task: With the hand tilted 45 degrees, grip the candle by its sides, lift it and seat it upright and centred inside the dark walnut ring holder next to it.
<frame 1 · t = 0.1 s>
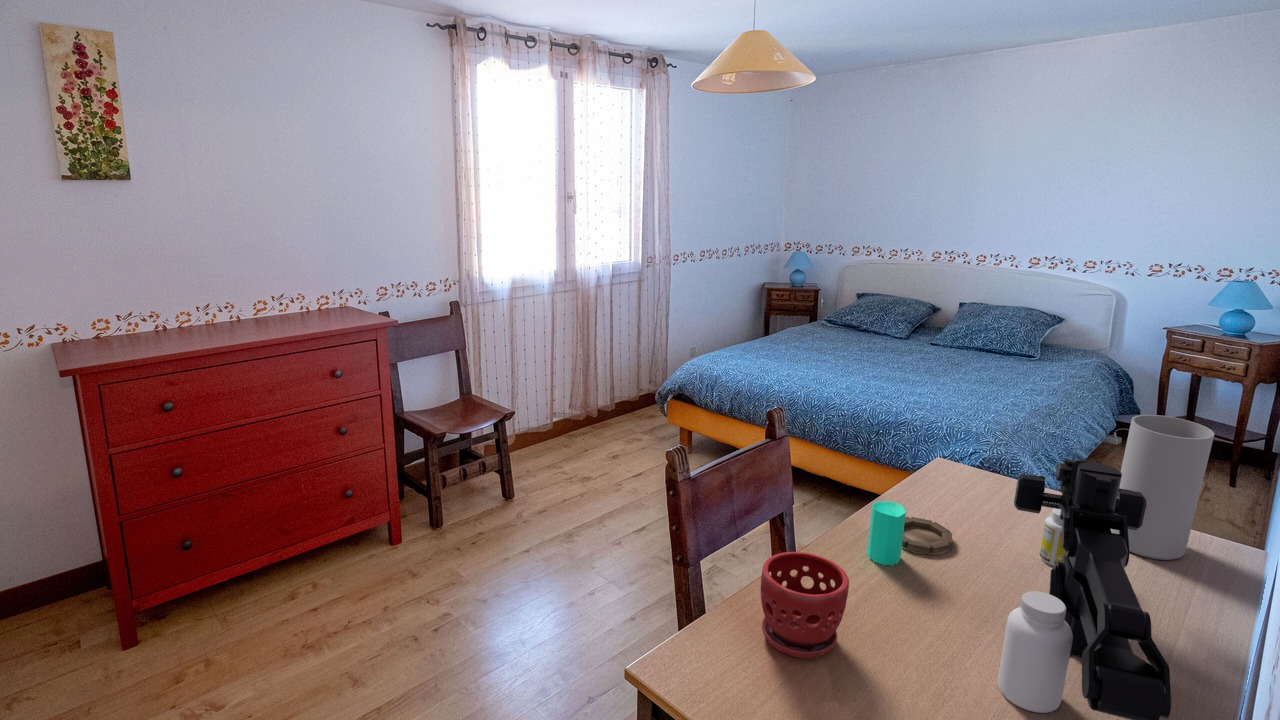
hand: (1070, 482, 126), 17 cm above the table, tool horizontal, fingers open, 9 cm apart
supplement bottle: (1055, 561, 132), on the table
ring seat: (919, 538, 139), on the table
candle: (883, 558, 133), on the table
plant pot: (799, 638, 110), on the table
pill bottle: (1027, 694, 98), on the table
cylinder vase: (1144, 545, 137), on the table
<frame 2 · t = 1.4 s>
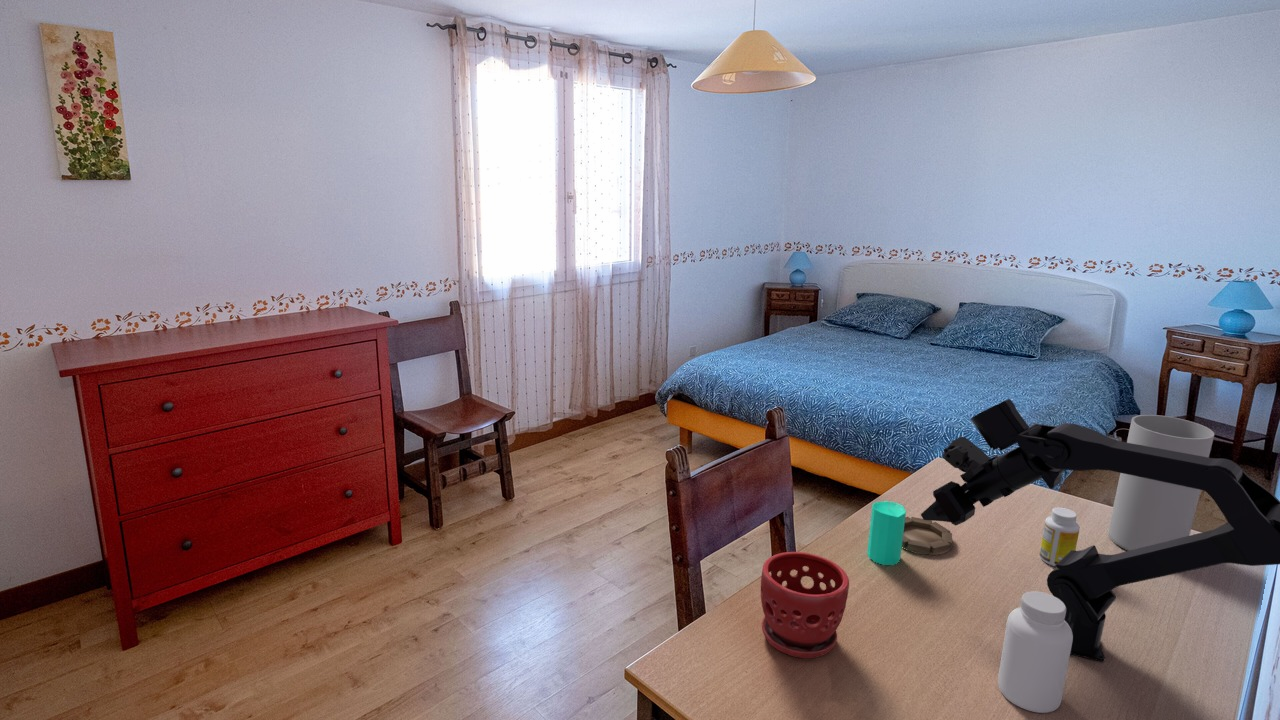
hand: (935, 508, 123), 14 cm above the table, tool tilted 45°, fingers open, 9 cm apart
nothing on the table moved.
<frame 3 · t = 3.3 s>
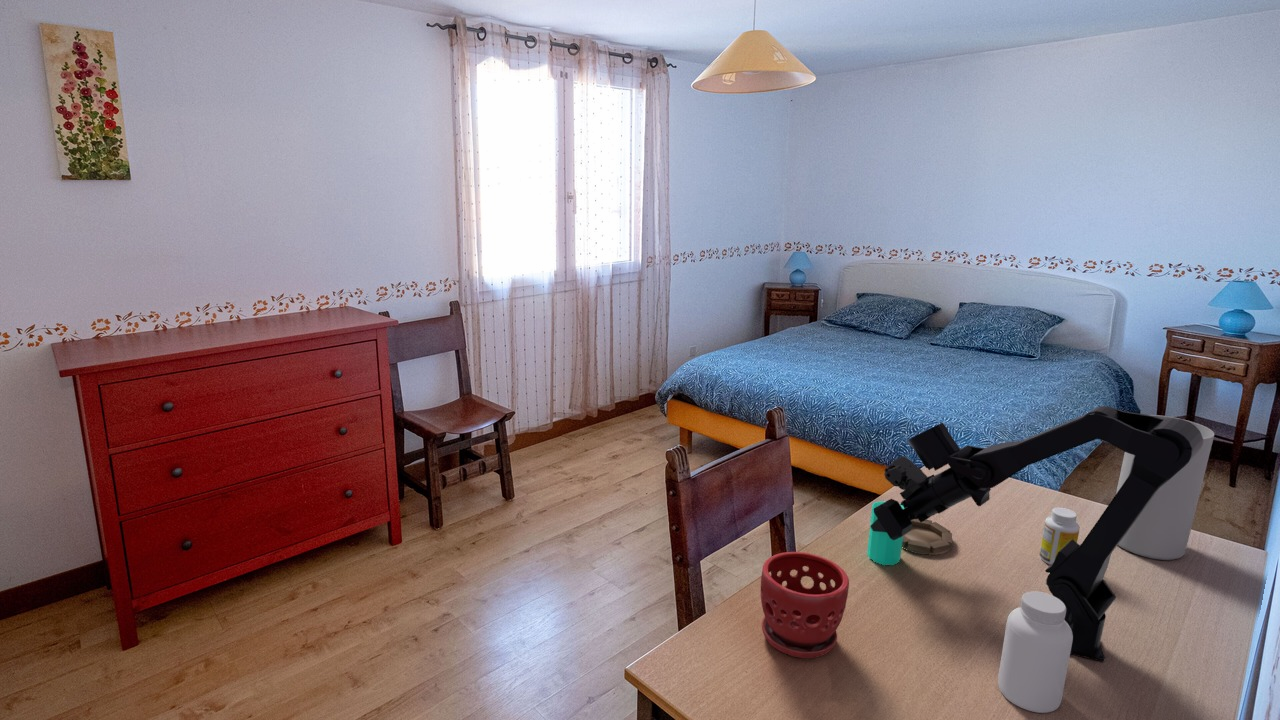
hand: (880, 523, 132), 7 cm above the table, tool tilted 45°, fingers closed on candle, 5 cm apart
candle: (883, 558, 133), on the table, touching gripper
everything else where it was.
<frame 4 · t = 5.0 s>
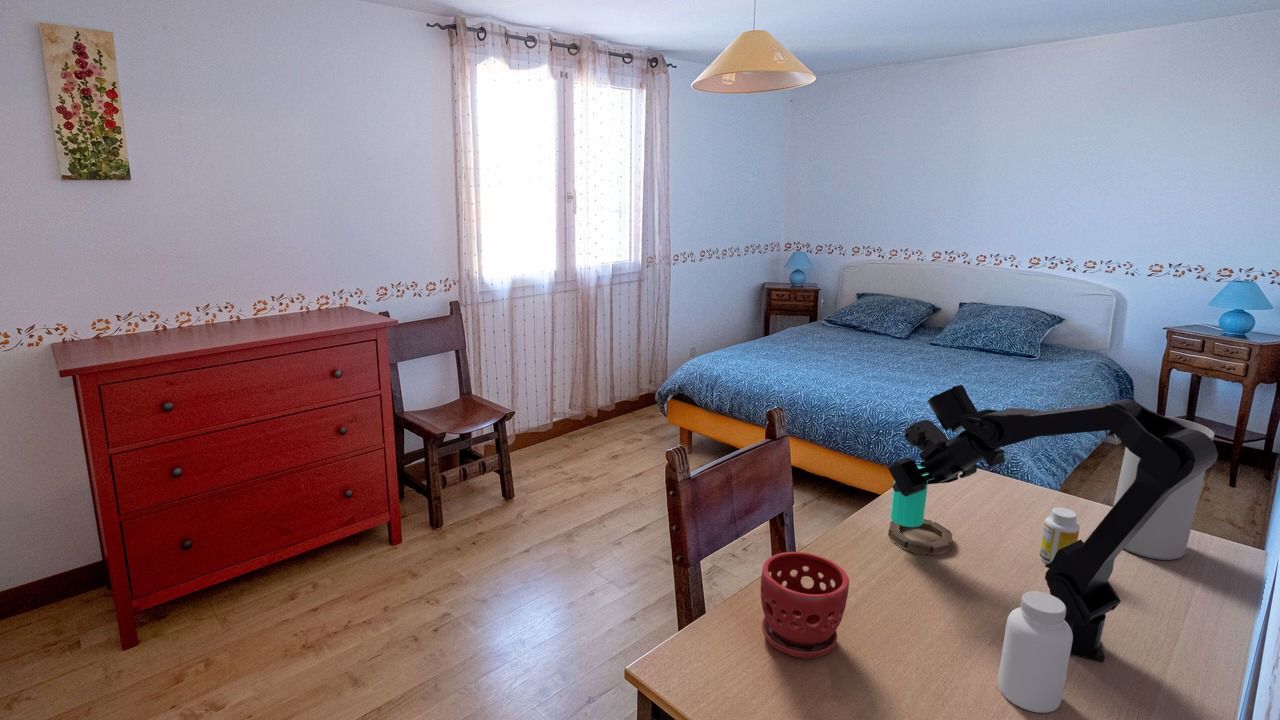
hand: (904, 485, 134), 12 cm above the table, tool tilted 45°, fingers closed on candle, 5 cm apart
candle: (906, 520, 135), point 5 cm above the table, touching gripper
everything else where it was.
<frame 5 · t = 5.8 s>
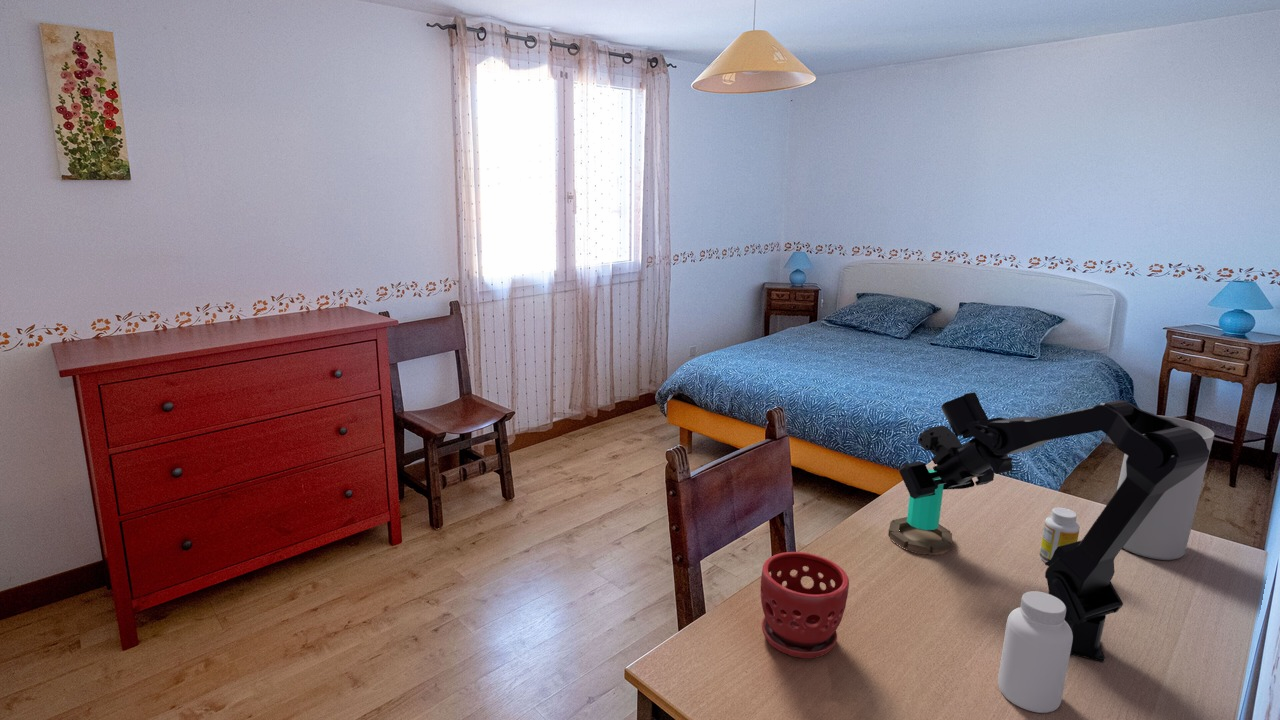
hand: (921, 489, 137), 10 cm above the table, tool tilted 45°, fingers closed on candle, 5 cm apart
candle: (922, 523, 138), point 4 cm above the table, touching gripper
everything else where it was.
when the fingers open (8 cm above the table, at t = 6.6 s): candle stays where it is, resting on ring seat.
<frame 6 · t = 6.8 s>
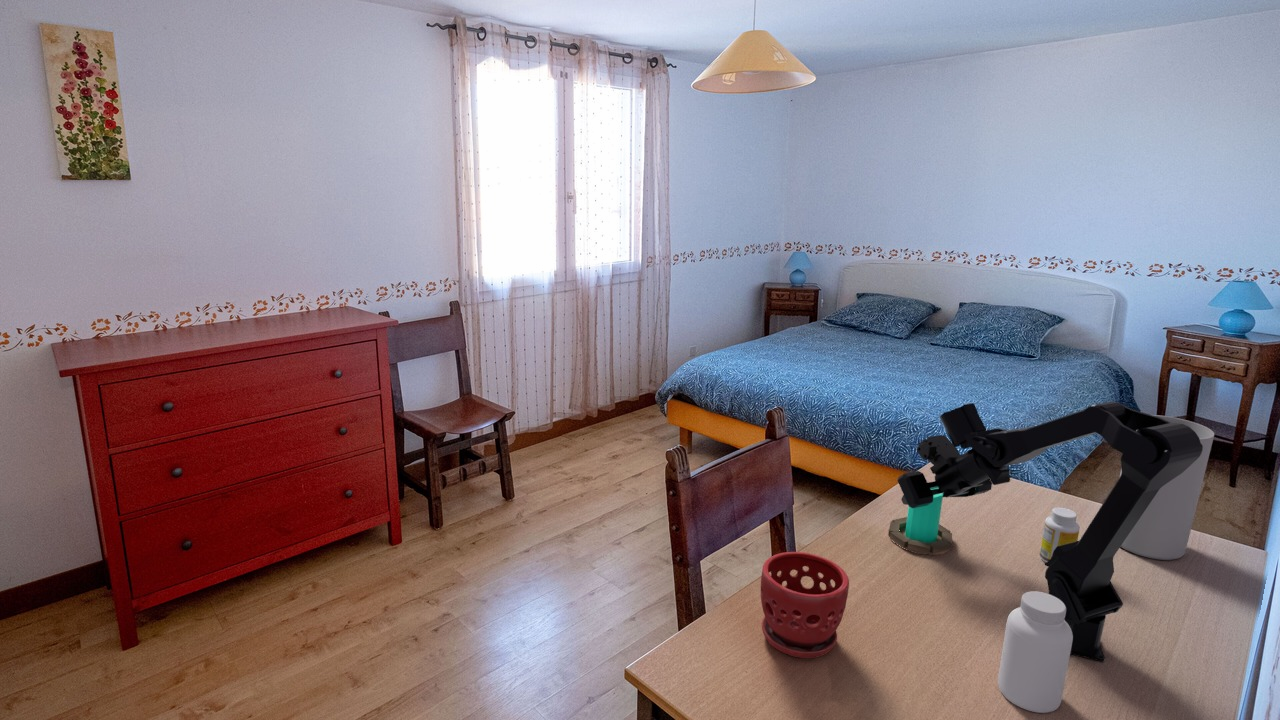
hand: (919, 498, 138), 8 cm above the table, tool tilted 45°, fingers open, 8 cm apart
candle: (920, 538, 139), resting on ring seat
everything else where it was.
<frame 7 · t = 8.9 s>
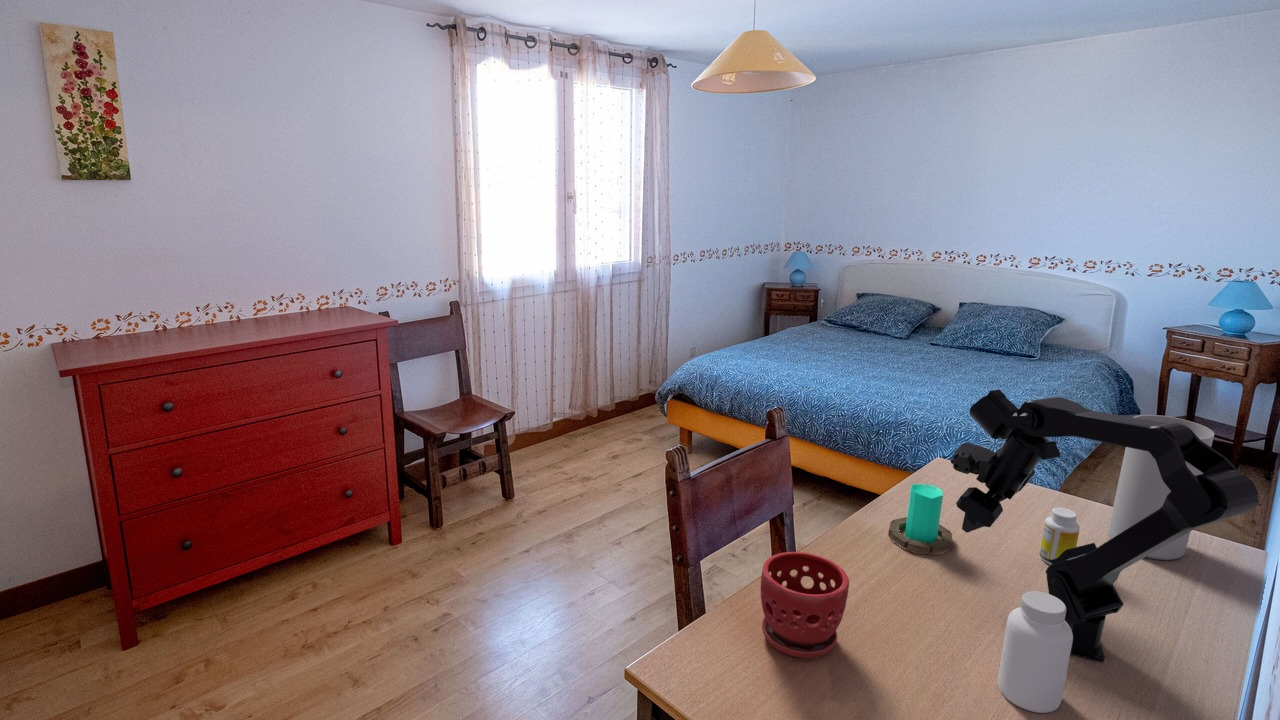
hand: (975, 518, 126), 11 cm above the table, tool tilted 25°, fingers open, 9 cm apart
nothing on the table moved.
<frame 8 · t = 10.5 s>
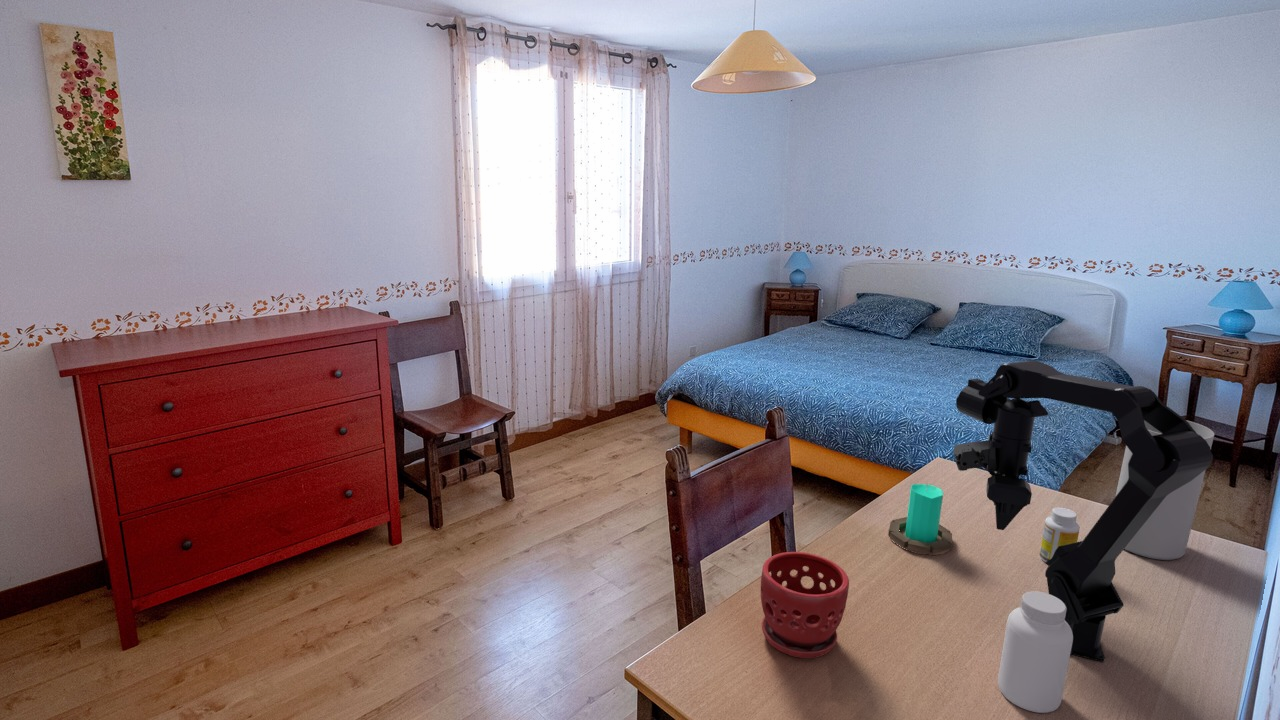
hand: (998, 517, 121), 13 cm above the table, tool pointing down, fingers open, 9 cm apart
nothing on the table moved.
at the end: candle 0.2 cm from the ring seat (horizontally); candle tilted 0°; the gripper is holding nothing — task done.
